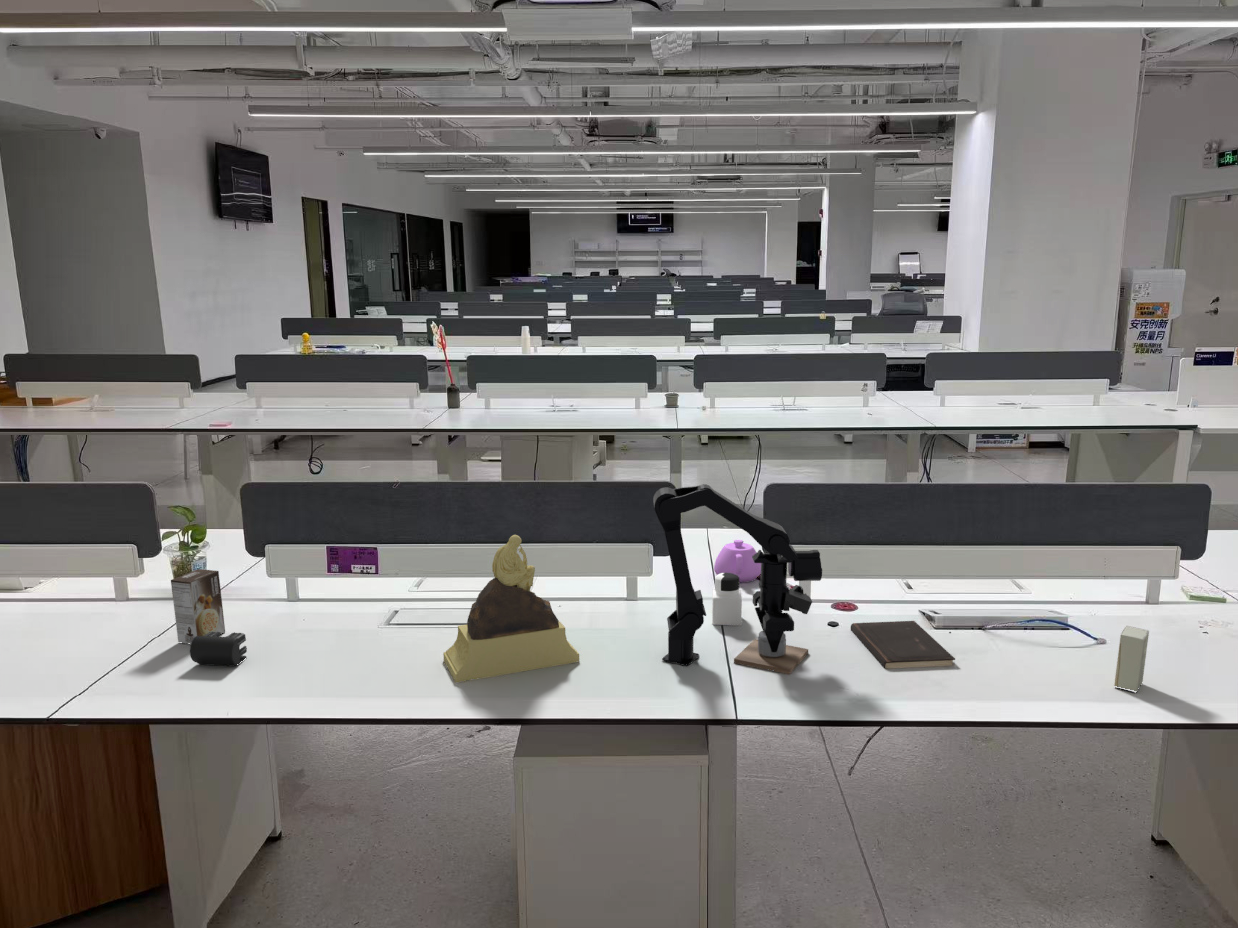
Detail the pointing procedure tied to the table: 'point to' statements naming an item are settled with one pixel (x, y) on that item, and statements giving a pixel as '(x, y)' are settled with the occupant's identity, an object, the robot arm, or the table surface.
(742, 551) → the teapot
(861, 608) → the table surface
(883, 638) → the hardcover book
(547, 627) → the seated figure statue
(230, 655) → the end cap
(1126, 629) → the skincare box
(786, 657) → the stud plate
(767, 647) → the grey short cylinder
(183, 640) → the coffee box
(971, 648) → the table surface
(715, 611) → the medicine bottle
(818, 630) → the table surface
